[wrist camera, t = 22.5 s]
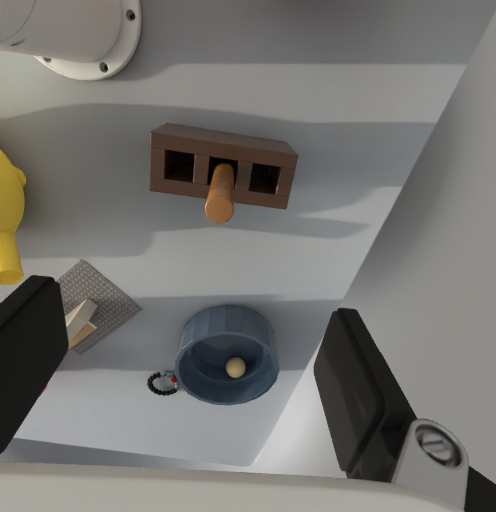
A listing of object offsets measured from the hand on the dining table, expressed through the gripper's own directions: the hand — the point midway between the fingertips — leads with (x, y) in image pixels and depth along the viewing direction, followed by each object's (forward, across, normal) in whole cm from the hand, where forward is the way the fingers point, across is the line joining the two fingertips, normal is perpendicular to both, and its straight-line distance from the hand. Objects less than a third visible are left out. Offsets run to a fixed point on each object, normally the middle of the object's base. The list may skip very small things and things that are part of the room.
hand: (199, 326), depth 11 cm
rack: (+30, 0, 0) cm, 30 cm away
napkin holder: (+31, +19, +26) cm, 44 cm away
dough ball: (+27, -6, +34) cm, 43 cm away
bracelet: (+30, +6, +40) cm, 51 cm away
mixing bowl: (+30, -4, +29) cm, 42 cm away
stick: (+30, 0, 0) cm, 30 cm away
